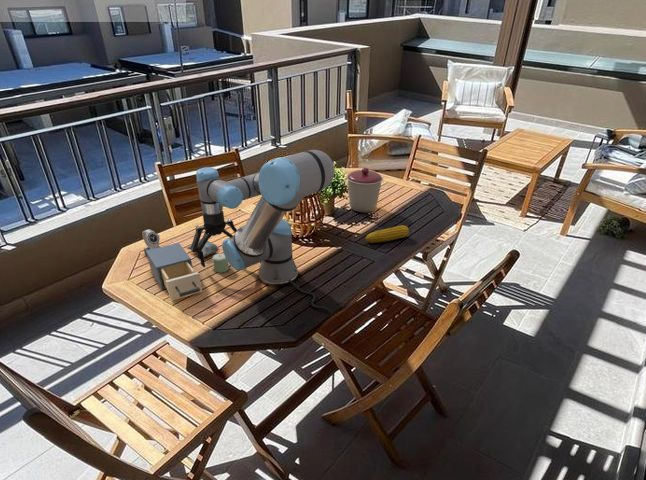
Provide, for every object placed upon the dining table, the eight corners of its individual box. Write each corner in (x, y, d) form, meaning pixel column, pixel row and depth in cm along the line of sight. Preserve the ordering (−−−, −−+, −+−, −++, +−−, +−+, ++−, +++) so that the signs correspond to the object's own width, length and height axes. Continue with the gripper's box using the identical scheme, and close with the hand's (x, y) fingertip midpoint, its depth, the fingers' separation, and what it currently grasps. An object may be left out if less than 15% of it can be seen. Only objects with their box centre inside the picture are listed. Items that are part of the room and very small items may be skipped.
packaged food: (203, 261, 183) (201, 250, 180) (186, 251, 189) (184, 241, 186) (221, 254, 188) (219, 243, 185) (204, 245, 194) (202, 234, 191)
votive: (231, 269, 178) (229, 255, 175) (219, 274, 175) (217, 260, 171) (224, 264, 181) (222, 250, 178) (211, 268, 178) (209, 254, 175)
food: (403, 234, 207) (404, 222, 204) (409, 239, 203) (411, 227, 200) (363, 241, 200) (363, 229, 196) (368, 247, 196) (369, 235, 192)
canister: (381, 216, 222) (385, 174, 209) (345, 215, 222) (346, 173, 209) (379, 202, 237) (382, 162, 224) (345, 201, 236) (346, 161, 224)
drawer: (208, 299, 160) (204, 281, 155) (176, 309, 154) (171, 290, 150) (190, 274, 173) (186, 257, 168) (160, 283, 167) (155, 265, 163)
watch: (153, 260, 182) (147, 236, 176) (143, 254, 186) (136, 230, 180) (166, 255, 186) (160, 231, 179) (155, 249, 190) (149, 225, 183)
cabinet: (195, 280, 171) (190, 258, 165) (161, 289, 165) (156, 267, 160) (183, 263, 181) (178, 242, 175) (151, 272, 175) (145, 250, 169)
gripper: (240, 201, 172) (245, 249, 185) (175, 214, 160) (185, 265, 173) (248, 208, 167) (253, 257, 180) (182, 222, 155) (192, 274, 168)
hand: (220, 261), depth 177 cm, fingers open, 13 cm apart
